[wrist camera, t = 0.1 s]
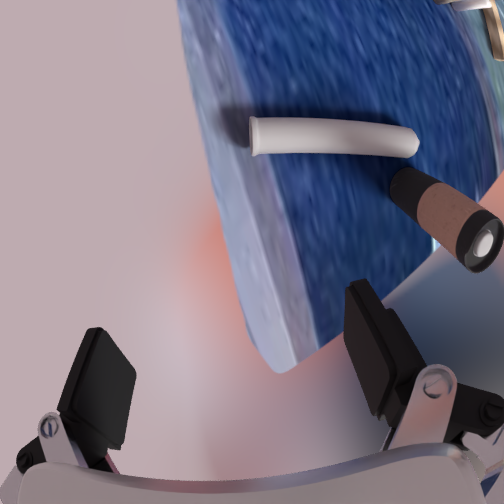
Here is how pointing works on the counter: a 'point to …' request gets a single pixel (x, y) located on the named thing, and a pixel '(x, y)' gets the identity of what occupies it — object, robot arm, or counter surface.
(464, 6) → the white pin
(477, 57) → the counter surface
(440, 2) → the birch pin
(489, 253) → the travel mug
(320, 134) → the tube
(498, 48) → the rail
